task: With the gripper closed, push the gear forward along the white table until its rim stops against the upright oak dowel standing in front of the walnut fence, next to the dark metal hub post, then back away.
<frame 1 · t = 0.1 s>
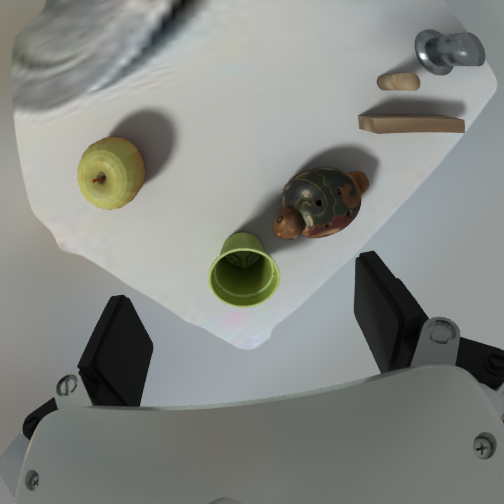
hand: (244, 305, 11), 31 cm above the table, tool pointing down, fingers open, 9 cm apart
fence: (404, 120, 36), on the table
decorative turtle: (313, 193, 42), on the table
hub post: (434, 52, 30), on the table
dowel pin: (383, 82, 33), on the table
plant pot: (242, 248, 46), on the table
apple: (121, 166, 38), on the table
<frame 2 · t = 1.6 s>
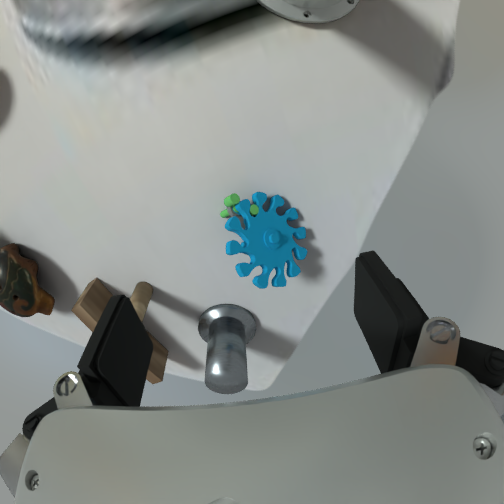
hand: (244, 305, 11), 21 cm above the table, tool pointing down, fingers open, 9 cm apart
fence: (129, 320, 39), on the table
decorative turtle: (26, 267, 34), on the table
hub post: (227, 325, 40), on the table
dowel pin: (144, 289, 36), on the table
gear: (262, 221, 33), on the table
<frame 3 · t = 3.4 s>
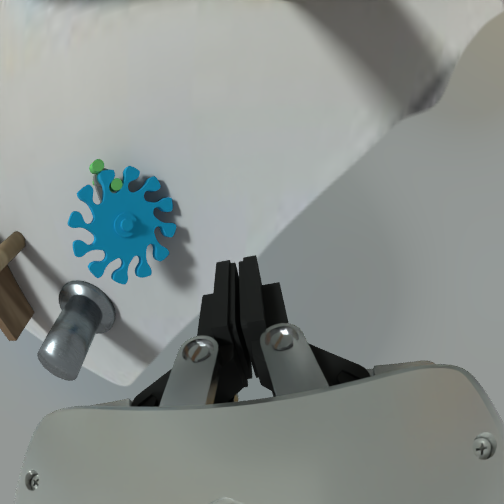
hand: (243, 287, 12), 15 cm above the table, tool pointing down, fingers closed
fence: (4, 267, 28), on the table
hub post: (87, 306, 32), on the table
dowel pin: (18, 240, 27), on the table
gear: (134, 203, 26), on the table
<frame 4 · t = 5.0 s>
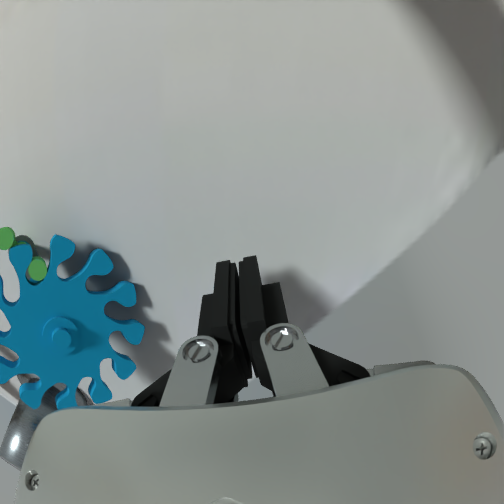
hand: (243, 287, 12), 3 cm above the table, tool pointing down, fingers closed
hub post: (51, 388, 21), on the table
gear: (81, 281, 15), on the table
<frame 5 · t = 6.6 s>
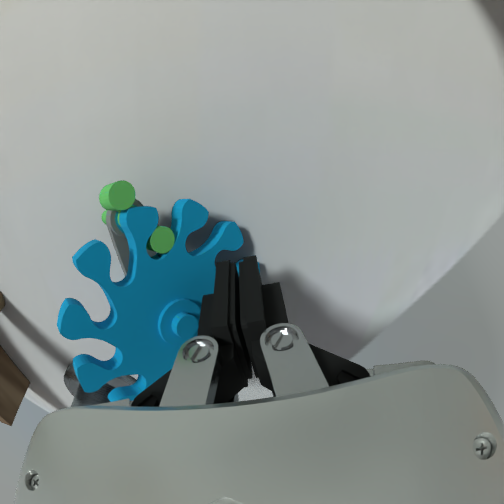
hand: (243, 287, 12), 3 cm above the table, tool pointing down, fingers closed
hub post: (107, 390, 20), on the table
gear: (182, 260, 15), on the table, touching gripper
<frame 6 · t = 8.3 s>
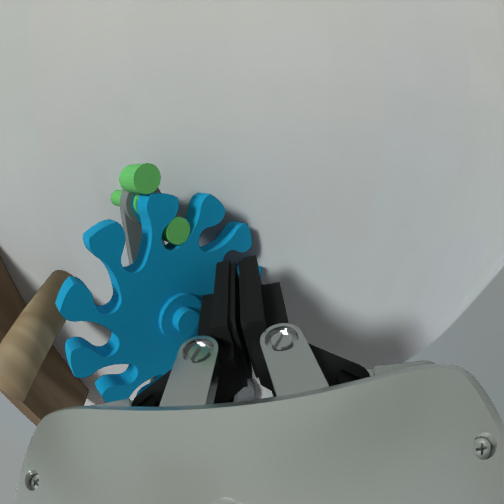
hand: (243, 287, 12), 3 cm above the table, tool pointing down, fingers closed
fence: (31, 326, 17), on the table
dowel pin: (65, 286, 15), on the table
gear: (184, 254, 15), on the table, touching gripper
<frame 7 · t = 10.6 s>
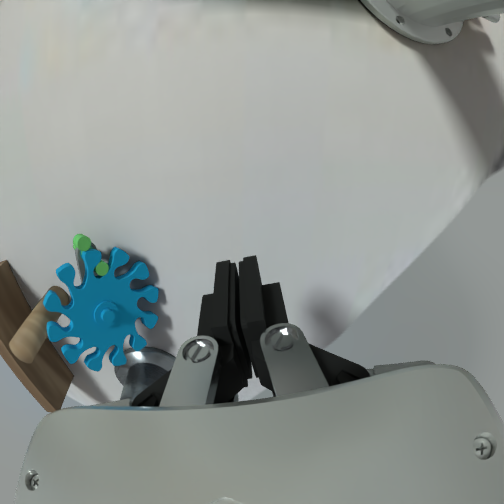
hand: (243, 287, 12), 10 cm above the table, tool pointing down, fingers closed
fence: (34, 325, 24), on the table
hub post: (151, 372, 28), on the table
dowel pin: (58, 296, 23), on the table
gear: (116, 279, 23), on the table
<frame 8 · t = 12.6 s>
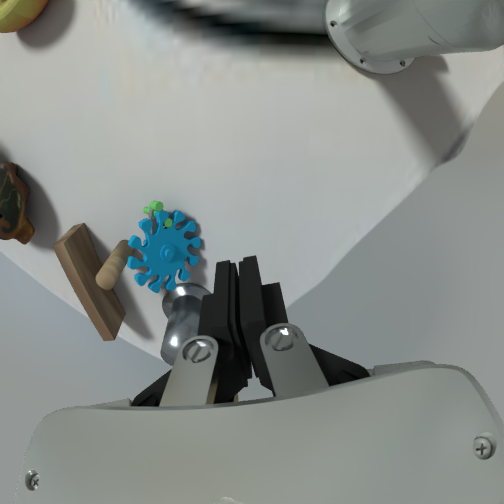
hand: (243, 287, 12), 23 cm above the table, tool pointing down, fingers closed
fence: (99, 273, 38), on the table
decorative turtle: (16, 191, 31), on the table
hub post: (189, 305, 42), on the table
dowel pin: (125, 247, 37), on the table
gear: (171, 233, 36), on the table
apple: (34, 5, 18), on the table
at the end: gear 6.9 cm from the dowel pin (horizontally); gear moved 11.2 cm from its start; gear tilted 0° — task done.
